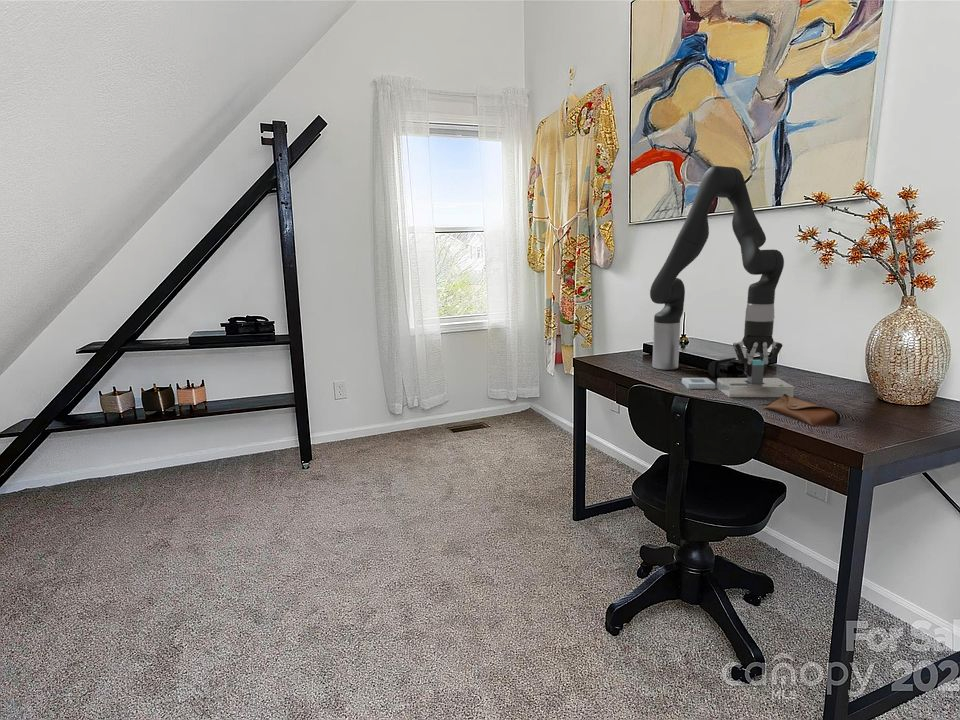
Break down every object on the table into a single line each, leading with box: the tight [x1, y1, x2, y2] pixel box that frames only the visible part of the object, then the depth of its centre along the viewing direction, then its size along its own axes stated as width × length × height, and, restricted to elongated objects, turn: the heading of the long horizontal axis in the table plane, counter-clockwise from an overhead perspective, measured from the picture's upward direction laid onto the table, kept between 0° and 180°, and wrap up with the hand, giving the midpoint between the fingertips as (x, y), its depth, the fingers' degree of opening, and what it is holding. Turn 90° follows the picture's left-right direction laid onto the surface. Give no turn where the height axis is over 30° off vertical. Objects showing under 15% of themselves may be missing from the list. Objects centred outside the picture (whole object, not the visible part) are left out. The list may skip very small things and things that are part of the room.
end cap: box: [707, 357, 745, 378], centre depth 184 cm, size 10×7×7 cm
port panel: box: [716, 377, 795, 398], centre depth 164 cm, size 18×11×4 cm, turn 84°
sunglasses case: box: [763, 394, 841, 427], centre depth 144 cm, size 18×7×7 cm, turn 16°
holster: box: [681, 377, 716, 390], centre depth 173 cm, size 8×8×2 cm
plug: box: [746, 359, 764, 384], centre depth 162 cm, size 3×3×7 cm
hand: (755, 375), depth 163 cm, fingers closed on plug, 3 cm apart
